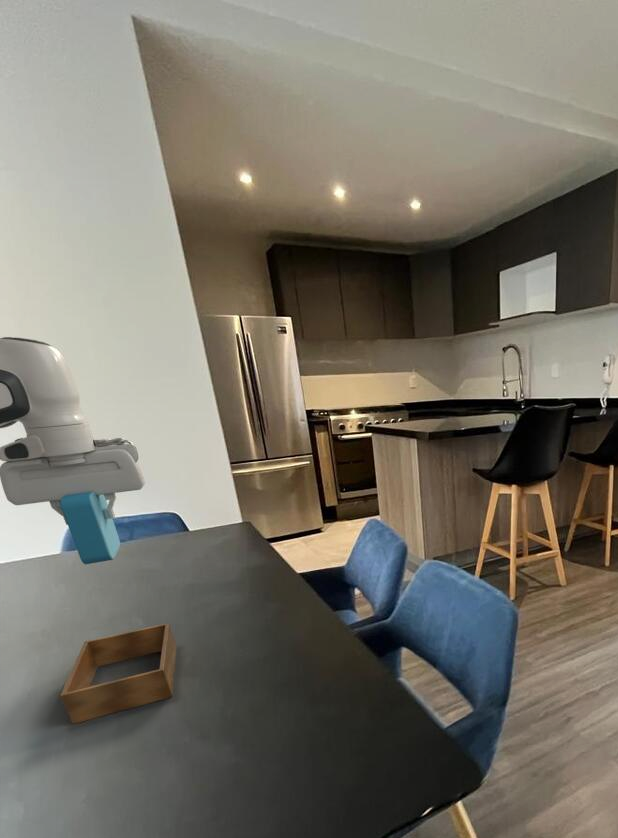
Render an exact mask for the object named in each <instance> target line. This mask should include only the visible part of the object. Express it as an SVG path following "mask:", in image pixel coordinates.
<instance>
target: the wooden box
mask: <svg viewBox="0 0 618 838" xmlns="http://www.w3.org/2000/svg"><path fill="white" fill-rule="evenodd" d="M171 627H172V626H171V625H170V622H166V623H162V624H158V625H154V626H149V627H144V628H139V629H135V630H131V631H127V632H121V633H117V634H113V635H108V636H104V637H103V636H102V637H100V638H95V639H94V638H93V639H91V640H86V641H84V642H83V644H82V646H81V649H80V651H79V653H78V655H77V657H76V659H75V662H74V664H73V666H72V669H71V671H70V673H69V676H68V678H67V680H66V682H65V684H64V687H63V689H62V691H61V693H60V700H61V702H62V703H63V706H64V708H65V710H66V713H67V715H68V717H69V719H70V722H71V724H72V725H74V724H78V723H81V722H85V721H90V720H93V719H97V718H100V717H102V716H107V715H111V714H115V713H118V712H121V711H126V710H129V709H133V708H136V707H141V706H143V705H147V704H152V703H154V702H157V701H162V700H166V699H169V698H172V697H173V693H174V683H175V682H174V680H175V670H176V669H175V668H176V657H177V643H176V640H175V636H174V634H173V631H172V628H171ZM159 652H161V654H160V661H159V669H155V670H150V671H147V672H143V673H139V674H135V675H131V676H127V677H123V678H120V679H115V680H111V681H106V682H104V683H100V684H96V685H92V683H93V681H94V677H95V675H96V673H97V669H98V667H101V666H105V665H109V664H114V663H118V662H122V661H127V660H130V659H135V658H139V657H143V656H148V655H151V654H155V653H159Z"/></svg>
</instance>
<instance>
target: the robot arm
mask: <svg viewBox="0 0 618 838" xmlns="http://www.w3.org/2000/svg"><path fill="white" fill-rule="evenodd" d="M18 422H19V423H21V424H22V426H23V428H24V431H25V434H26V435H25V437H20V438H16V439H14V441H13V442H9V443H7V444H4V445H2V446H0V461H1V462H3V463H2V464H0V483H1V485H2V487H1V488H2V489H3V492H4V496H5V498H6V499H7V501H8V502H9V503H11V504H12V505H14V506H23V505H33V504H39V503H46V502H47V503H48V502H49V505H50V507H51V509H52V510H54V511H55V512H56V513H57V514H59V515H60V516H61V517H63V521H64V523H65V524H66V526H68V524H67V521H66V519H65V516H64V513H63V511H62V508H61V504H60V500H61V498H62V497H64V496H65V495H71V494H79V493H87V492H94V493H95V495H103V494H104V497H105V500H106V501H108V502H107V504H108V507H107V508H104V509H103V510H102V512H103V515H104V518H105V519H113V520H114V519H115V517H116V515H115V514H116V513H115V512H114V509H113V508H114V505H115V502H116V499H117V496H116V494H118V493H124V492H125V493H126V492H133V491H140V490H142V488H144V486H145V485H146V480H145V478H144V475H143V472H142V470H141V468H140V465H139V464H138V460H139V453H138V450H137V447H136V445H135V443H133V442H132V441H130V440H126V439H125V438H122V437H116V438H112V439H111V438H110V439H109V438H108V439H105V438H104V439H94V437H93V433H92V431H91V428H90V427H91V426H90V424H89V421H88V419H87V417H86V416H85V414H84V413H83V411H82V408H81V404H80V393H79V391H78V387H77V385H76V382H75V380H74V377H73V374H72V372H71V370H70V367H69V365H68V363H67V361H66V359H65V358H64V356H63V354H62V353H61V352H60V351H59V350H58V349H57V348H55V347H54V346H52V345H51V344H49V343H47V342H44V341H39V340H37V339H30V338H25V337H24V338H23V337H12V336H4V337H0V429H4V428H8V427H11V426H13V425H15V424H17V423H18Z"/></svg>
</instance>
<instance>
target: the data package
mask: <svg viewBox="0 0 618 838" xmlns="http://www.w3.org/2000/svg"><path fill="white" fill-rule="evenodd" d="M60 504H61V508H62V511H63V513H64V516H65V519H66V521H67V524H68V525H67V526H68V529H69V533H70V535H71V537H72V540H73V543H74V545H75V548H76V550H77V554H78V555H79V558H80V560H81V562H82V563H83V564H84V565H90V564H96V563H102V562H108V561H113V560H114V559H115V557H116V555H117V553H118V551H119V549H120V547H121V541H120V538H119V534H118V531H117V528H116V525H115V523H114V522H115V521H114V518H113V519H105V518H104V515H103V512H102V510H103V509H104V508H107V507H108V500H105V497H104V494H103V495H95V493H94V492H87V493H79V494H71V495H65V496H64V497H62V498H61V500H60Z"/></svg>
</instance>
